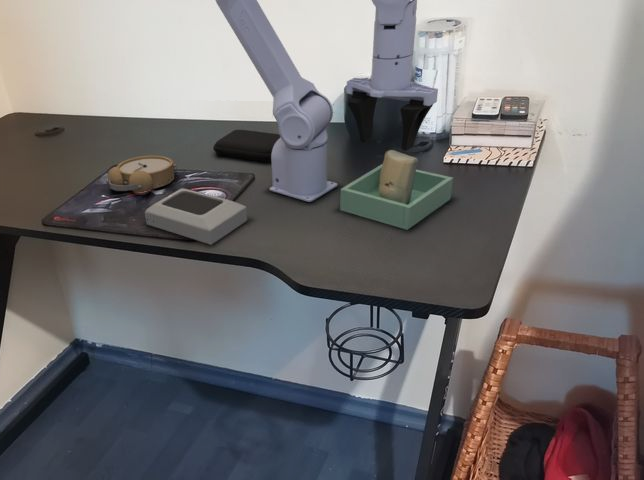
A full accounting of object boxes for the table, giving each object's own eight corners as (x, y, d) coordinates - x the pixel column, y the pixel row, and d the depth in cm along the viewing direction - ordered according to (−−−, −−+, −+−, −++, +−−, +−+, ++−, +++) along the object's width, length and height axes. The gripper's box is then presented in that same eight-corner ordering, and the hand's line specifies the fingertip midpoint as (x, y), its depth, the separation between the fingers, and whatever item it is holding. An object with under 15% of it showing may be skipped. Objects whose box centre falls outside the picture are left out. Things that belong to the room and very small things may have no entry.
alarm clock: (184, 158, 125) (138, 175, 114) (185, 183, 127) (139, 202, 117) (140, 152, 130) (91, 168, 120) (141, 176, 133) (94, 194, 122)
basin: (339, 210, 106) (340, 189, 103) (383, 182, 111) (384, 162, 109) (407, 230, 98) (409, 207, 95) (450, 199, 103) (453, 177, 101)
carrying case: (297, 145, 130) (238, 138, 138) (297, 131, 128) (237, 124, 136) (271, 165, 124) (210, 156, 132) (270, 150, 122) (208, 142, 130)
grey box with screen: (208, 224, 100) (143, 204, 109) (211, 244, 102) (146, 224, 111) (245, 200, 105) (180, 183, 114) (247, 220, 107) (182, 202, 116)
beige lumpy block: (415, 195, 105) (420, 148, 100) (412, 209, 101) (417, 161, 96) (379, 194, 107) (382, 148, 102) (375, 208, 103) (378, 161, 98)
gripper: (335, 56, 96) (333, 144, 104) (422, 66, 86) (413, 161, 95) (363, 44, 99) (359, 130, 107) (449, 52, 90) (438, 145, 98)
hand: (386, 144), depth 101 cm, fingers open, 7 cm apart
